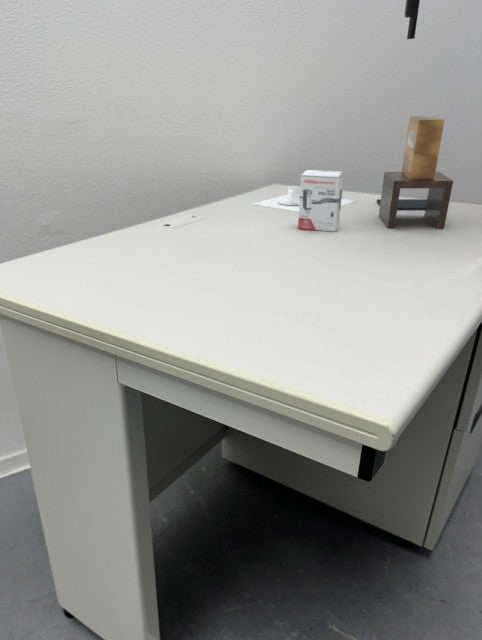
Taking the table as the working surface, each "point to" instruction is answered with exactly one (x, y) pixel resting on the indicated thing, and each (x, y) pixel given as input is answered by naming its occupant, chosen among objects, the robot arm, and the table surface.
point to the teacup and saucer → (290, 200)
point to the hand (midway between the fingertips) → (449, 37)
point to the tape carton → (422, 147)
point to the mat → (410, 204)
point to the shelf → (397, 180)
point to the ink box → (320, 200)
